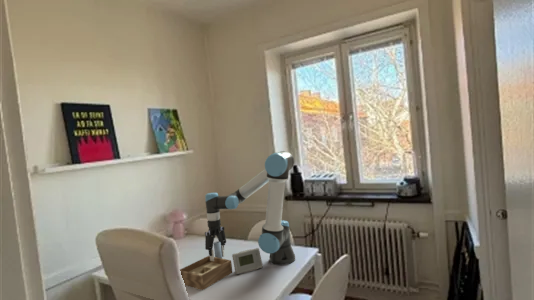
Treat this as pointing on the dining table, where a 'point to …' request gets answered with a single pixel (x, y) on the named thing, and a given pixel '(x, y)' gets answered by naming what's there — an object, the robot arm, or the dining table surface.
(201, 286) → the open box
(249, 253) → the digital clock
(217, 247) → the dowel
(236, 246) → the dining table surface
